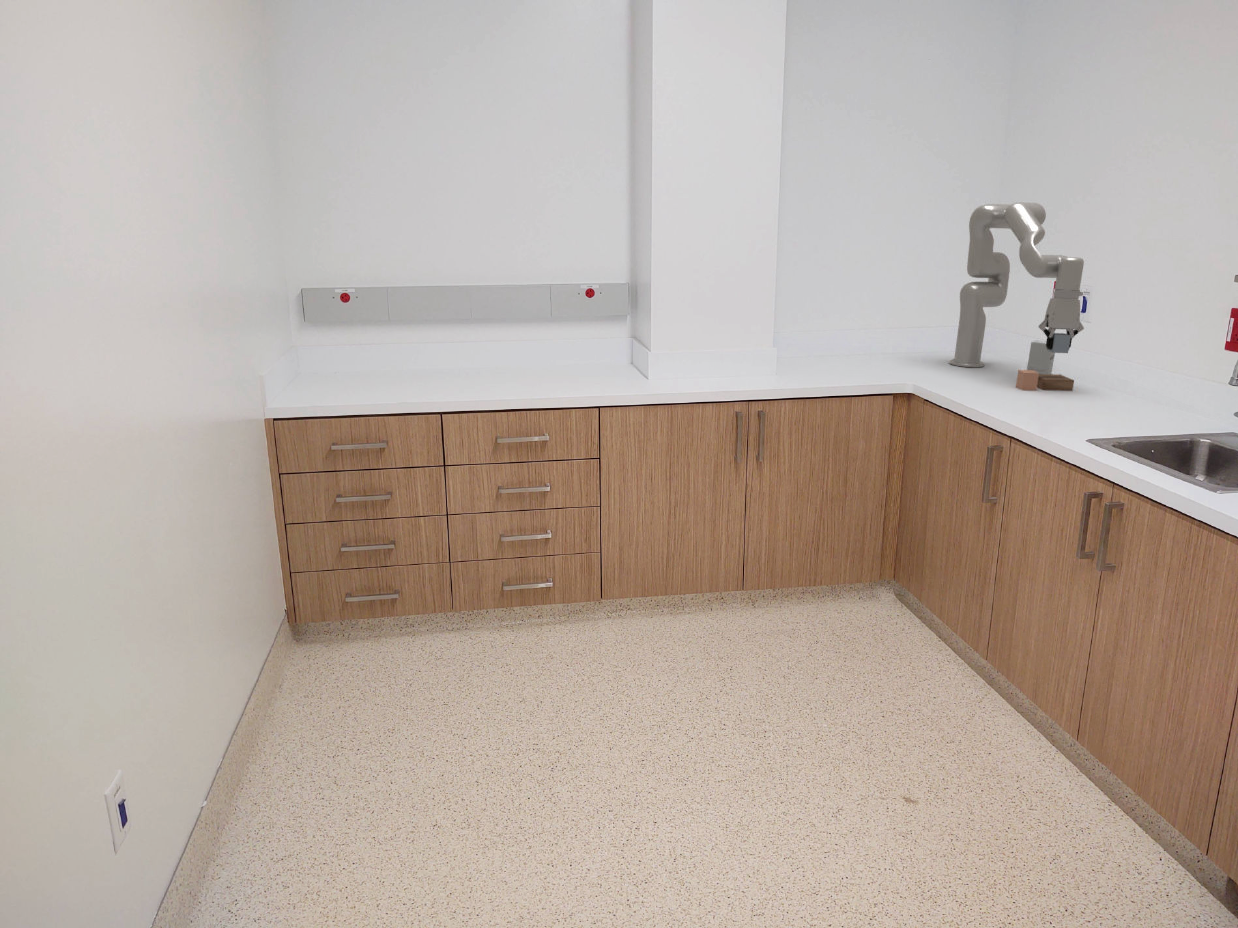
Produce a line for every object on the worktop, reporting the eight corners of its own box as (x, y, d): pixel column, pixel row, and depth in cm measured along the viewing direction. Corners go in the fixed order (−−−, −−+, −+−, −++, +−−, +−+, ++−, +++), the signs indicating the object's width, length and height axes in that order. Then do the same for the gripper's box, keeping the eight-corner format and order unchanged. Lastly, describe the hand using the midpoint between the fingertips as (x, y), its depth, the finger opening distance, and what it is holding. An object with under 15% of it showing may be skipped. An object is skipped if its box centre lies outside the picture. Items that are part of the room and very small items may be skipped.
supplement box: (1046, 379, 330) (1052, 344, 327) (1025, 376, 335) (1030, 341, 331) (1051, 376, 336) (1057, 342, 332) (1030, 373, 340) (1035, 339, 337)
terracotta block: (1015, 387, 314) (1018, 369, 313) (1030, 387, 314) (1033, 370, 312) (1021, 390, 310) (1023, 372, 308) (1036, 390, 309) (1039, 373, 308)
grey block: (1046, 350, 314) (1049, 333, 312) (1061, 351, 314) (1064, 333, 312) (1052, 352, 309) (1055, 335, 308) (1068, 353, 309) (1070, 335, 307)
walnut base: (1029, 385, 320) (1031, 373, 319) (1058, 385, 320) (1059, 374, 319) (1043, 391, 310) (1045, 379, 309) (1072, 391, 311) (1074, 380, 310)
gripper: (1087, 294, 310) (1078, 348, 315) (1035, 293, 310) (1028, 346, 315) (1097, 297, 302) (1088, 351, 307) (1044, 295, 303) (1036, 350, 308)
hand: (1057, 348), depth 311 cm, fingers closed on grey block, 4 cm apart
